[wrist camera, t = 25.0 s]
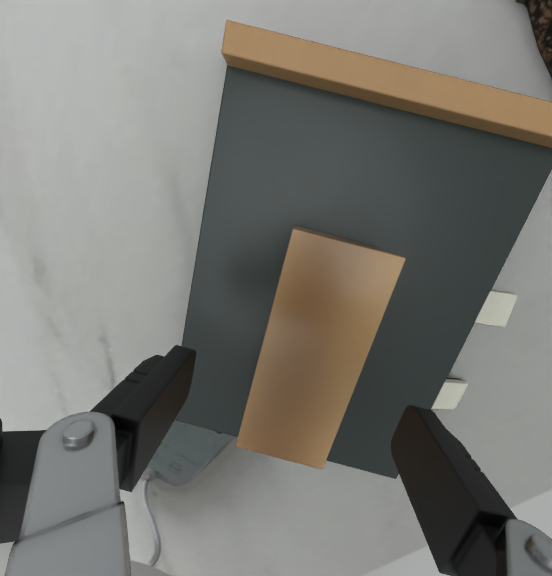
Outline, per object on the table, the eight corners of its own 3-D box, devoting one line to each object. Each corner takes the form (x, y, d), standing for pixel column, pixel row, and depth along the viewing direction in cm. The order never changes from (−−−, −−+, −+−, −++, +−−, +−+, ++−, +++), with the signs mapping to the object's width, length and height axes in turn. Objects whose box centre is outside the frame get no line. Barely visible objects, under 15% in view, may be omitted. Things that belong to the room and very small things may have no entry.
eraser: (376, 246, 14) (406, 257, 10) (316, 412, 17) (322, 470, 13) (294, 224, 14) (292, 228, 10) (249, 394, 17) (235, 446, 13)
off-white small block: (450, 405, 17) (455, 409, 17) (426, 404, 17) (431, 409, 16) (463, 379, 17) (468, 384, 16) (439, 378, 16) (444, 382, 16)
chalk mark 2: (500, 325, 16) (505, 327, 15) (466, 319, 16) (470, 322, 15) (513, 293, 15) (518, 295, 15) (478, 288, 15) (482, 289, 15)
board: (390, 463, 19) (401, 494, 17) (177, 406, 19) (162, 430, 17) (551, 130, 13) (601, 113, 11) (237, 50, 13) (225, 18, 11)
